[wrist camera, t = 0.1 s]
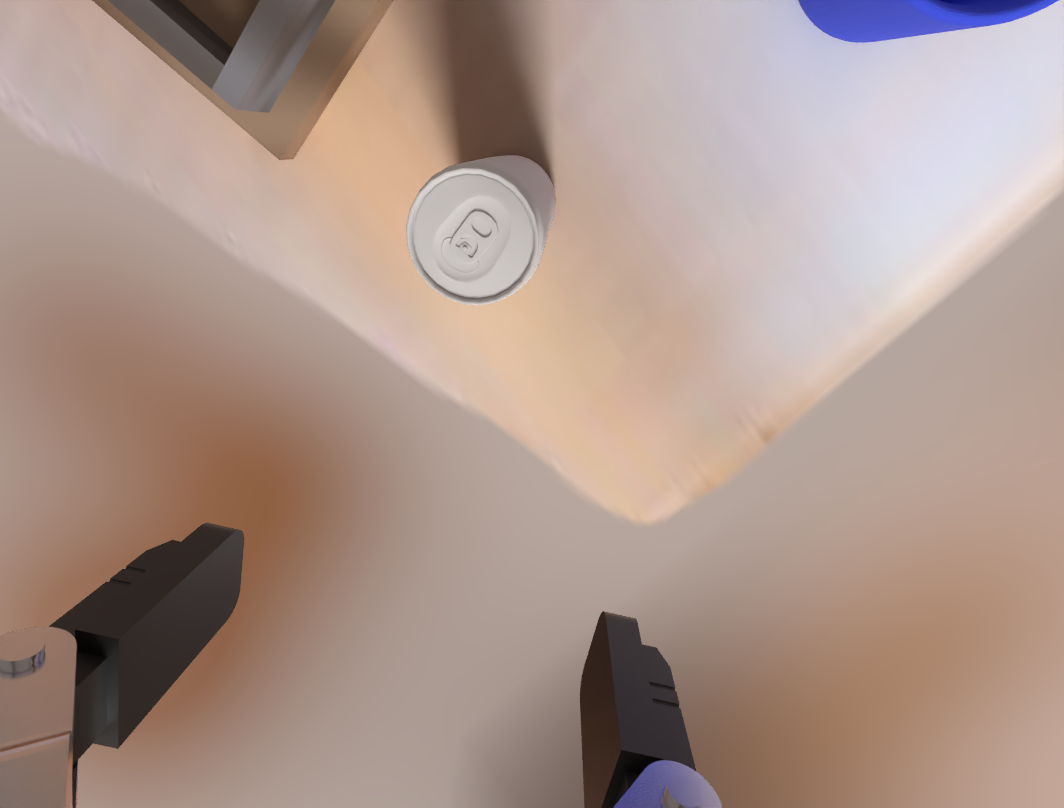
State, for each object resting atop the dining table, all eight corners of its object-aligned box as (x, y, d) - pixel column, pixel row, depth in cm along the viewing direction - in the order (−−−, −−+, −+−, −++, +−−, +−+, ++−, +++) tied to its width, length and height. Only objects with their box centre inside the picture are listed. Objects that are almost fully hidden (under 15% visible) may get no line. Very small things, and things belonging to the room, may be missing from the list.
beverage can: (447, 208, 31) (374, 247, 20) (504, 132, 29) (458, 128, 18) (517, 268, 32) (484, 336, 21) (576, 197, 30) (573, 231, 19)
